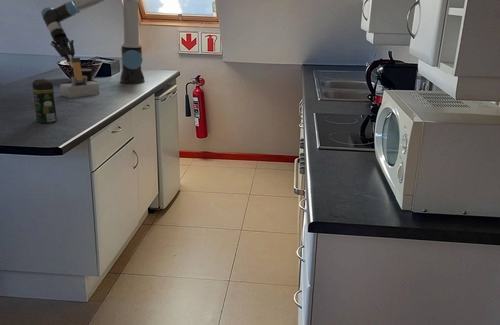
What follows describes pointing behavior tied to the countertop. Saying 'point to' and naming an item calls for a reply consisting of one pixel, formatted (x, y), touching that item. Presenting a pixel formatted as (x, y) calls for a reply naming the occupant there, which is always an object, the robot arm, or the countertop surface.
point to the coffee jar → (44, 101)
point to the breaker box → (79, 88)
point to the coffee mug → (86, 73)
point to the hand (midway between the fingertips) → (73, 65)
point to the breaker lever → (77, 70)
